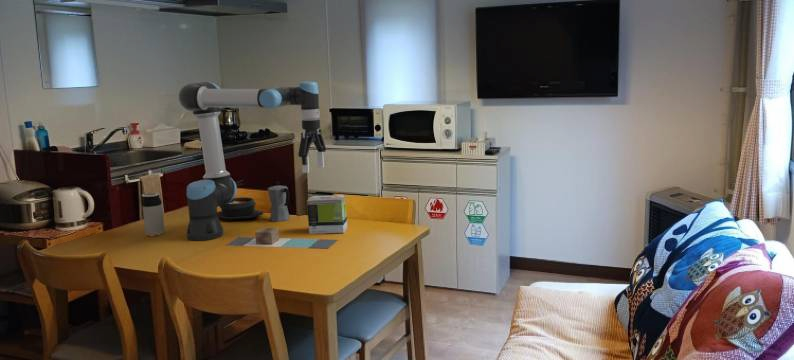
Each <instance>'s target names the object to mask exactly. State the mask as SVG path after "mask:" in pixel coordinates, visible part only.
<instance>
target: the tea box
mask: <svg viewBox="0 0 794 360" xmlns="http://www.w3.org/2000/svg"><path fill="white" fill-rule="evenodd" d="M346 202H347V201H346V195H345V194H337V195H312V196H311V197H309V198H308V199H307V200H306V210H307V221H308V232H309V233H308V234H309V235H310V234H344V233H345V231H346V230H347V229H348V218H347V217H348V216H347V204H346Z"/></svg>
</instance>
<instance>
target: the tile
mask: <svg viewBox="0 0 794 360" xmlns="http://www.w3.org/2000/svg"><path fill="white" fill-rule="evenodd" d="M254 238H255V237H254ZM290 239H291V238H285V237H284V238H281V237H279V240H278V241H277V242H275V243H274V244H272V245H265V244H256V238H255V239H253V240H251V241H250V242H248V243H247V244H245V245H243V246H242V247H267V248H268V247H271V248H273V247H274V248H275V247H276V248H281V247H280V246H282V245H283V244H285V243H286V242H288V241H289V240H290Z"/></svg>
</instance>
